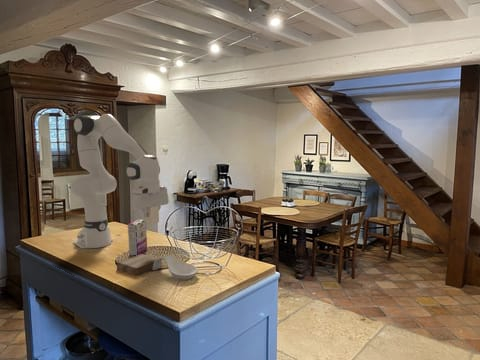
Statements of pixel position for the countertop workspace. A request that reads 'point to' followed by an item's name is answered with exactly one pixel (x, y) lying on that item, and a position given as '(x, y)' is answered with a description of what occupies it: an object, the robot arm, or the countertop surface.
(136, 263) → the walnut block
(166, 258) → the spoon rest
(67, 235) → the countertop surface
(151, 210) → the cream box
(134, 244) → the candy bar box
